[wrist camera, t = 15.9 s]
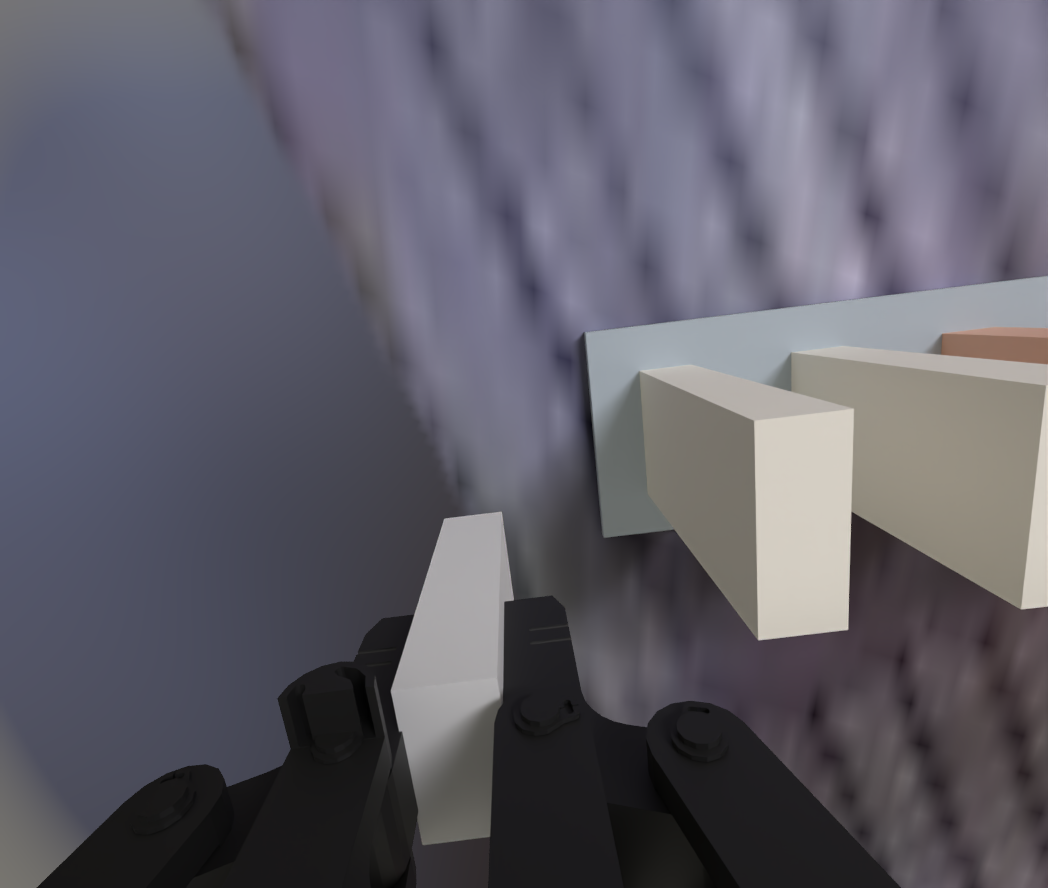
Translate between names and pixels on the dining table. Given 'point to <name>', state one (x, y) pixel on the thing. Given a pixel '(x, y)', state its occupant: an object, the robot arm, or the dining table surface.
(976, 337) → the domino
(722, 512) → the end domino
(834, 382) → the domino
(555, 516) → the dining table surface
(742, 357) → the mat
